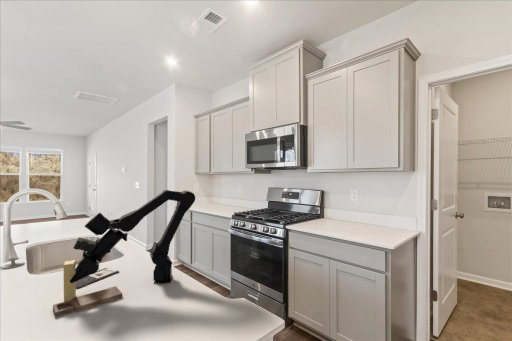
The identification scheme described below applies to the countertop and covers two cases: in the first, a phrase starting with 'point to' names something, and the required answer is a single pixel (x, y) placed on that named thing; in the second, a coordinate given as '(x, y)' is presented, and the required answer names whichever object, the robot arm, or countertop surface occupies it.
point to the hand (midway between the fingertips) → (72, 277)
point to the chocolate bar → (95, 277)
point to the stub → (68, 274)
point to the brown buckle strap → (87, 301)
